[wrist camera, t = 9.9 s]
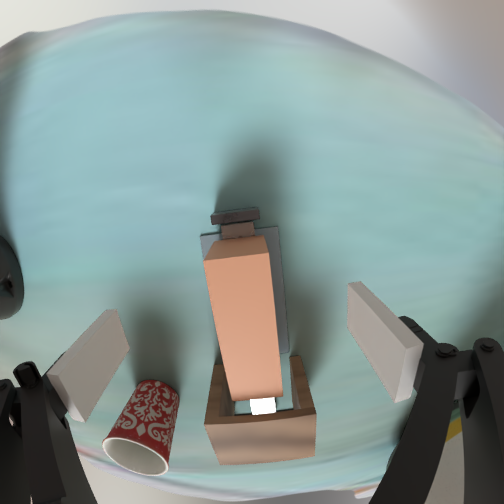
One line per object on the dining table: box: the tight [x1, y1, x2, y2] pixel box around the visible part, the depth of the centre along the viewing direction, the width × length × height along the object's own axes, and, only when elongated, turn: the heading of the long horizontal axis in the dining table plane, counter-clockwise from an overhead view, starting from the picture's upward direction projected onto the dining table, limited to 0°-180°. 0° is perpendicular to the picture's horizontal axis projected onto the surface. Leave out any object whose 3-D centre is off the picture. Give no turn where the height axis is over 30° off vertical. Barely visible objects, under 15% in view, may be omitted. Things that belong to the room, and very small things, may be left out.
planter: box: [386, 402, 464, 504], centre depth 30 cm, size 27×27×27 cm
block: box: [203, 235, 283, 401], centre depth 29 cm, size 16×6×8 cm, turn 7°
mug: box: [102, 380, 179, 476], centre depth 32 cm, size 13×9×14 cm
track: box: [211, 207, 276, 415], centre depth 34 cm, size 31×5×3 cm, turn 7°
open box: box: [204, 356, 316, 465], centre depth 32 cm, size 9×12×12 cm
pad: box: [200, 226, 289, 353], centre depth 34 cm, size 17×9×1 cm, turn 7°
